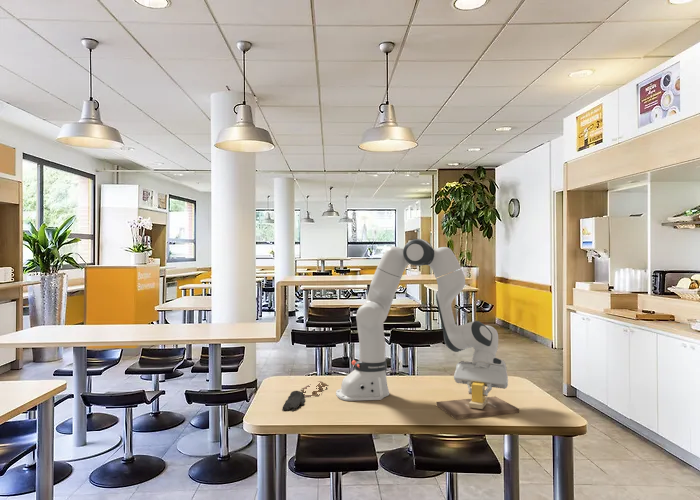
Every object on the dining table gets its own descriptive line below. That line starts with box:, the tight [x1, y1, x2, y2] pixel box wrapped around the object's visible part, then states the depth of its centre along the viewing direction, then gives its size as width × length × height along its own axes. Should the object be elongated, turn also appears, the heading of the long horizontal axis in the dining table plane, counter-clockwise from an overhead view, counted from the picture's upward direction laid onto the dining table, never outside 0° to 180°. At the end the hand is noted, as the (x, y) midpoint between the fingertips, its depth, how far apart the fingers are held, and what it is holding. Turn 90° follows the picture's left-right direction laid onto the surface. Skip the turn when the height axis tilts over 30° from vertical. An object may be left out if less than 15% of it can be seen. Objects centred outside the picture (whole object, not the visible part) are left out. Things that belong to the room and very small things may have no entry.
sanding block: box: [469, 382, 488, 409], centre depth 187 cm, size 9×5×8 cm, turn 152°
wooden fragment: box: [301, 380, 329, 398], centre depth 216 cm, size 26×11×1 cm, turn 167°
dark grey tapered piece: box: [282, 390, 306, 412], centre depth 197 cm, size 22×7×3 cm, turn 176°
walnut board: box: [435, 395, 520, 420], centre depth 188 cm, size 26×16×2 cm, turn 106°
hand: (477, 394), depth 186 cm, fingers closed on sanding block, 4 cm apart
